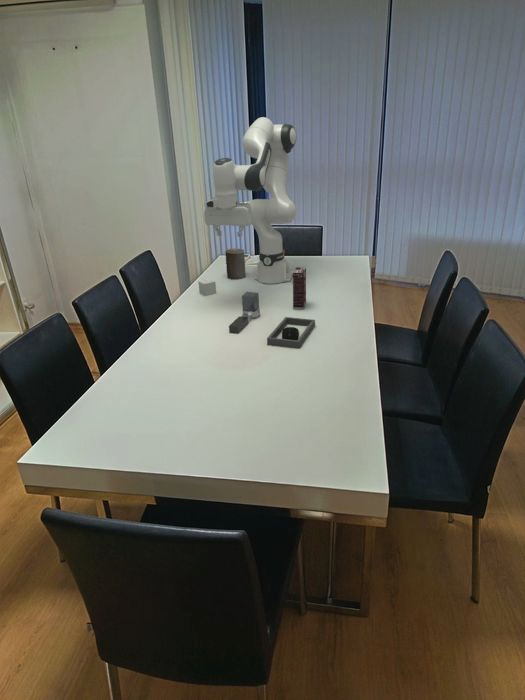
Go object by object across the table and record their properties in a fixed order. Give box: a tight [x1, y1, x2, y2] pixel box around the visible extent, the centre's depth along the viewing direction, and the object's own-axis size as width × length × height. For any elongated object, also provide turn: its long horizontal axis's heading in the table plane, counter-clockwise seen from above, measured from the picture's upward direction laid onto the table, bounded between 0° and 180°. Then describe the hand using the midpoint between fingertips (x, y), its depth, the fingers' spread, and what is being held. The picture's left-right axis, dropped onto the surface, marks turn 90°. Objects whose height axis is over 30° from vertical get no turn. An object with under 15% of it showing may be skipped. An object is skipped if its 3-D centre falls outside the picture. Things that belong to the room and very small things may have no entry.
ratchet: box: [228, 307, 261, 334], centre depth 193 cm, size 22×7×6 cm, turn 159°
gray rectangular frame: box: [266, 316, 316, 349], centre depth 181 cm, size 21×12×2 cm, turn 159°
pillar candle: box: [225, 248, 246, 281], centre depth 248 cm, size 10×10×15 cm
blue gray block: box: [241, 291, 260, 312], centre depth 198 cm, size 5×5×6 cm
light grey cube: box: [198, 278, 217, 297], centre depth 228 cm, size 6×6×6 cm
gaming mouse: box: [281, 326, 300, 340], centre depth 178 cm, size 6×15×4 cm, turn 174°
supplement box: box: [292, 266, 307, 310], centre depth 205 cm, size 9×5×16 cm, turn 168°
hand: (229, 235), depth 203 cm, fingers open, 8 cm apart
